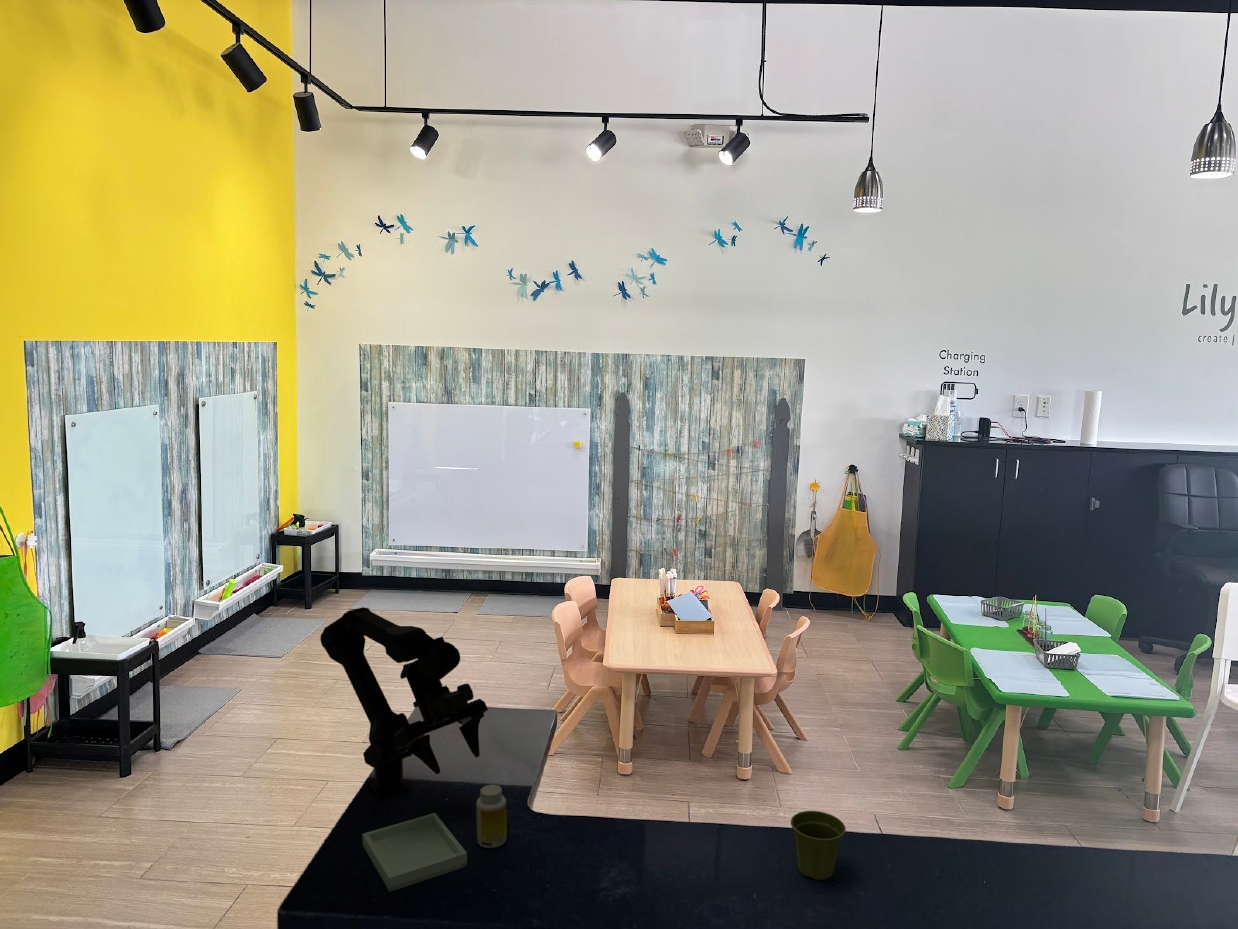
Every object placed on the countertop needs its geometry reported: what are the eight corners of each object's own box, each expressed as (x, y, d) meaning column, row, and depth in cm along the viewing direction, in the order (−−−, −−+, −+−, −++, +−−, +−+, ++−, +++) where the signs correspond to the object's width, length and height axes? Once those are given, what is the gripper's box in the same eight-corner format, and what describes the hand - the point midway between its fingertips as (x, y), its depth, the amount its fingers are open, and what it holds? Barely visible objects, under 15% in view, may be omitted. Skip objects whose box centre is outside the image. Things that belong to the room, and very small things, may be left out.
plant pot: (824, 851, 158) (826, 807, 157) (854, 880, 149) (856, 834, 148) (779, 860, 155) (781, 815, 154) (806, 891, 146) (808, 843, 145)
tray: (362, 846, 158) (362, 834, 158) (435, 825, 166) (434, 812, 166) (389, 892, 145) (389, 878, 145) (467, 866, 153) (466, 853, 152)
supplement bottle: (512, 842, 160) (511, 791, 159) (486, 853, 157) (485, 800, 155) (496, 829, 164) (496, 779, 163) (471, 840, 161) (470, 788, 160)
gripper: (405, 687, 156) (437, 768, 151) (485, 661, 170) (517, 734, 165) (379, 709, 163) (409, 788, 158) (458, 682, 176) (488, 754, 172)
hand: (458, 765), depth 163 cm, fingers open, 9 cm apart
